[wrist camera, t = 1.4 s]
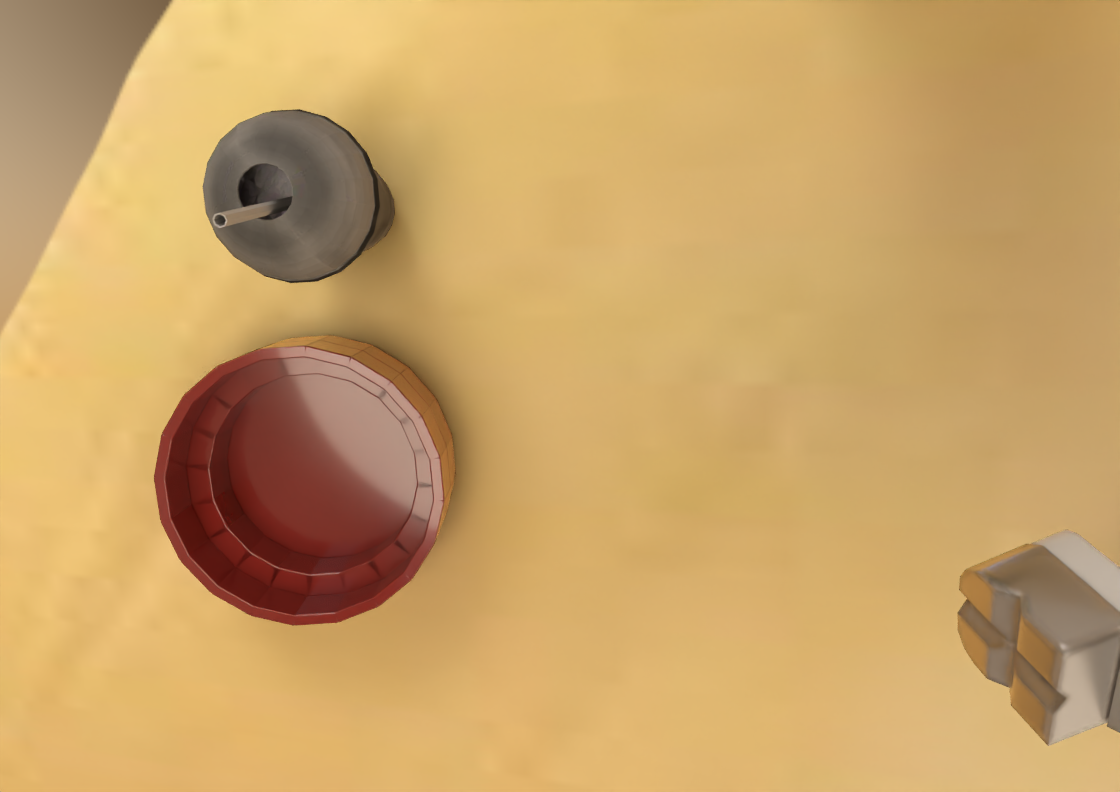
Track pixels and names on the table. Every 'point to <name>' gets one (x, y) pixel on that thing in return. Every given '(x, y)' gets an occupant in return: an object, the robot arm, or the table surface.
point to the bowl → (305, 479)
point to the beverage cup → (295, 196)
